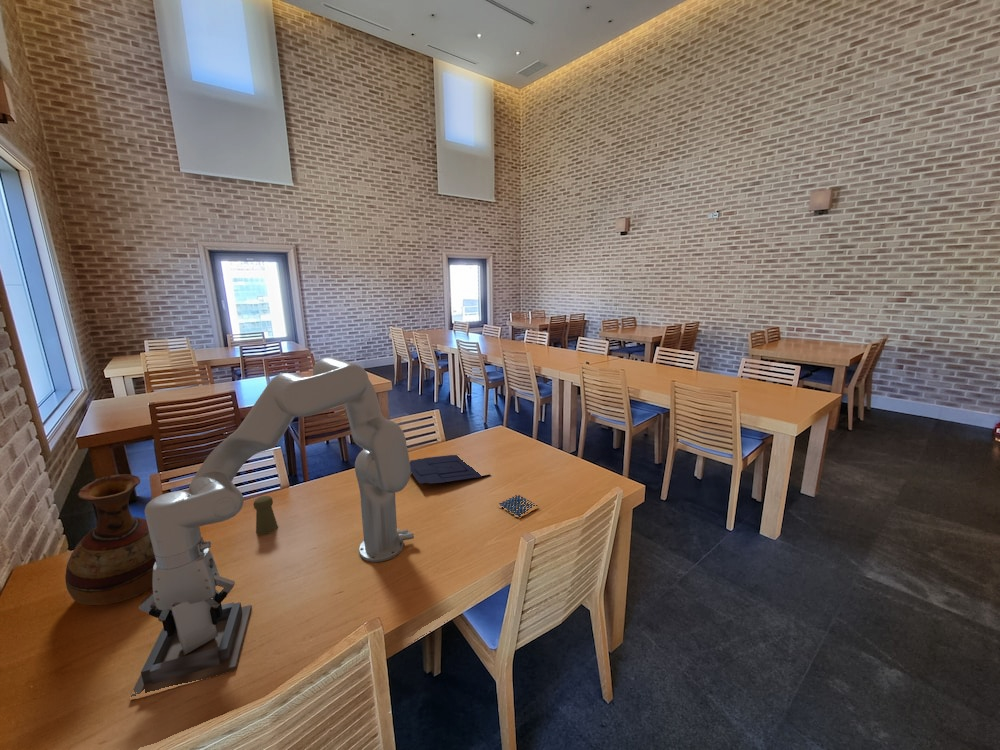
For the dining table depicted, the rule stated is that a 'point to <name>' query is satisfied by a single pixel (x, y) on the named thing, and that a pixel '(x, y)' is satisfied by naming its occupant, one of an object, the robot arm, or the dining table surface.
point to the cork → (264, 516)
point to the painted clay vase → (111, 547)
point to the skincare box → (193, 624)
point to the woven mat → (516, 505)
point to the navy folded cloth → (441, 469)
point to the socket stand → (196, 653)
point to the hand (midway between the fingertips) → (195, 624)
